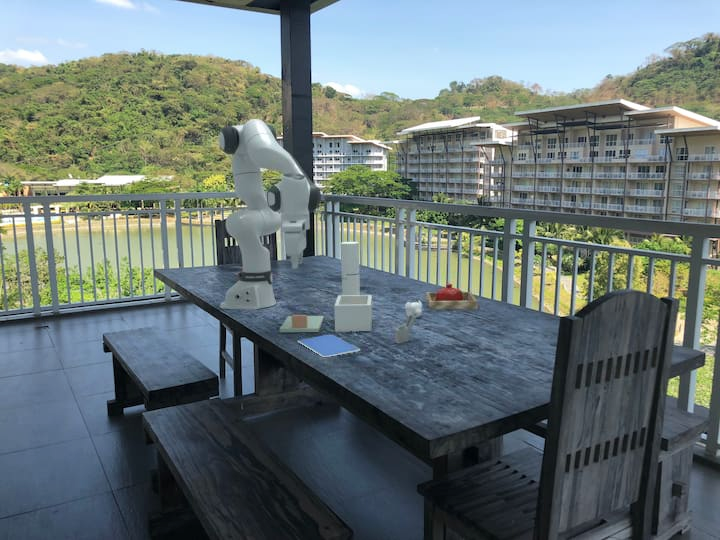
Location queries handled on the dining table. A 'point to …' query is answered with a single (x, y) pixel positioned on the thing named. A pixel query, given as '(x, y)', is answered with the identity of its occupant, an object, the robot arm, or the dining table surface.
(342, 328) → the parts tub
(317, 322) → the lid
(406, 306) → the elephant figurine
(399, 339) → the lighter
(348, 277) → the cylindrical container
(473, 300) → the wooden frame
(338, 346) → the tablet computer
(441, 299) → the butter dish
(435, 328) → the dining table surface
